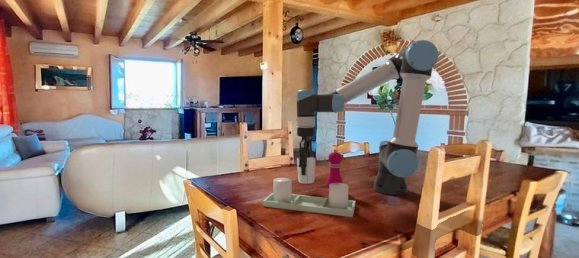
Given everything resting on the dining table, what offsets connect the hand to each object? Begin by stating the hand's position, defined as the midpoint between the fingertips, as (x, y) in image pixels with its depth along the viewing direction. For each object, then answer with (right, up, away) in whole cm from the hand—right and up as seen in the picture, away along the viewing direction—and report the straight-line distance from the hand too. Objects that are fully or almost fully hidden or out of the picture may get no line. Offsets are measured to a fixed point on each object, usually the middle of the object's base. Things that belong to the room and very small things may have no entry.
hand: (306, 179), depth 134 cm
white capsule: (-10, -7, -12) cm, 17 cm away
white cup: (0, -1, 0) cm, 1 cm away
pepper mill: (+12, -7, +3) cm, 14 cm away
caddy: (0, -8, -15) cm, 17 cm away
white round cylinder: (+11, -8, -18) cm, 23 cm away
